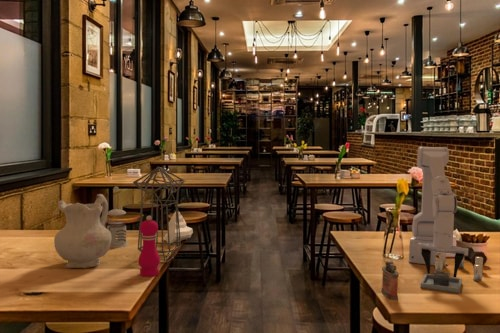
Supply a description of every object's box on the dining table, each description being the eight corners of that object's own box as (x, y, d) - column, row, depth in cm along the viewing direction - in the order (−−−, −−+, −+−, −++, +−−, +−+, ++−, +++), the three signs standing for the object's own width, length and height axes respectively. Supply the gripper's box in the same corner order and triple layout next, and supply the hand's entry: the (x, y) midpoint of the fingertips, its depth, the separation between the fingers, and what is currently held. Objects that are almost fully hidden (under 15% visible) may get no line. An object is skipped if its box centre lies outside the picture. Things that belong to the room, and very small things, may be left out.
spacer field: (434, 275, 157) (434, 260, 157) (439, 264, 170) (439, 251, 170) (481, 281, 150) (482, 266, 150) (482, 270, 164) (483, 256, 163)
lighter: (379, 290, 142) (380, 258, 141) (389, 290, 142) (390, 258, 141) (389, 300, 134) (390, 266, 133) (400, 299, 134) (401, 266, 133)
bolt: (464, 259, 184) (481, 269, 169) (453, 253, 184) (469, 262, 169) (472, 247, 184) (489, 256, 169) (461, 240, 184) (477, 248, 169)
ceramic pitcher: (80, 256, 181) (74, 193, 179) (126, 256, 177) (120, 191, 175) (45, 273, 160) (38, 202, 158) (96, 273, 156) (89, 200, 154)
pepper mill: (164, 272, 159) (163, 214, 157) (153, 278, 152) (152, 218, 150) (145, 269, 161) (145, 213, 160) (134, 275, 154) (133, 216, 153)
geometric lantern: (131, 263, 169) (129, 168, 166) (151, 252, 184) (150, 165, 181) (170, 267, 164) (169, 169, 162) (188, 255, 179) (187, 166, 177)
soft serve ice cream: (156, 245, 201) (152, 213, 203) (179, 242, 213) (175, 212, 215) (176, 242, 194) (172, 209, 196) (200, 239, 206) (195, 207, 208)
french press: (133, 244, 197) (133, 186, 196) (112, 249, 188) (111, 188, 186) (117, 241, 203) (117, 184, 201) (96, 246, 193) (95, 187, 191)
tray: (420, 287, 144) (420, 283, 144) (425, 278, 154) (425, 273, 154) (459, 293, 139) (459, 288, 139) (461, 283, 149) (461, 278, 149)
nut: (432, 285, 145) (433, 274, 145) (434, 280, 150) (435, 270, 150) (447, 287, 143) (448, 276, 143) (449, 283, 148) (450, 272, 147)
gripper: (417, 232, 145) (415, 274, 146) (468, 237, 138) (466, 281, 139) (420, 228, 151) (419, 268, 152) (469, 233, 145) (467, 275, 146)
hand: (441, 274), depth 146 cm, fingers open, 7 cm apart
